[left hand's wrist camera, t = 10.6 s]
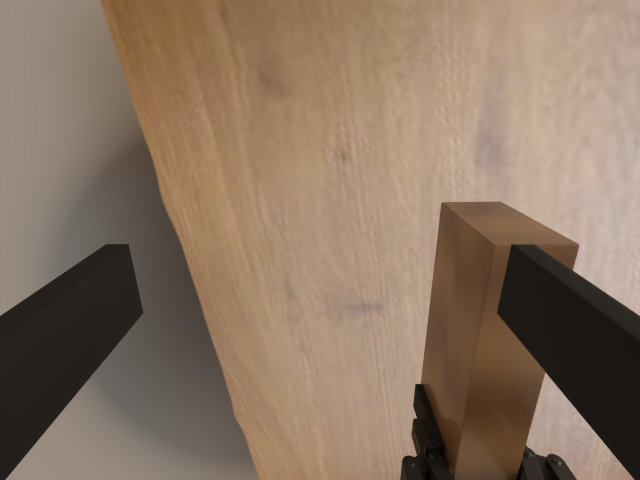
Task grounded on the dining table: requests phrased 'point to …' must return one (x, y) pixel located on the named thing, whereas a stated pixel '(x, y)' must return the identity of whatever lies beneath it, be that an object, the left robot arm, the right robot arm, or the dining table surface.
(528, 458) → the right robot arm
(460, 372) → the bar
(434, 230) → the dining table surface
